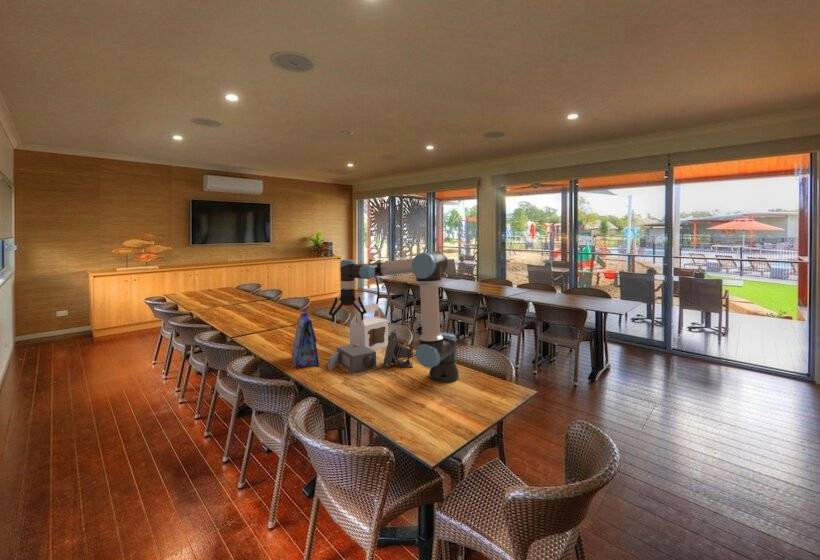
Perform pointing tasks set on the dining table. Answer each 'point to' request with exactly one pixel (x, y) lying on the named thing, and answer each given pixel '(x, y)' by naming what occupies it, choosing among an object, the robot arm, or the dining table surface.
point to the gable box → (376, 327)
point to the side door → (334, 360)
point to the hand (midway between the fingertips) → (347, 326)
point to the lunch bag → (304, 343)
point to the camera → (397, 352)
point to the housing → (357, 357)
